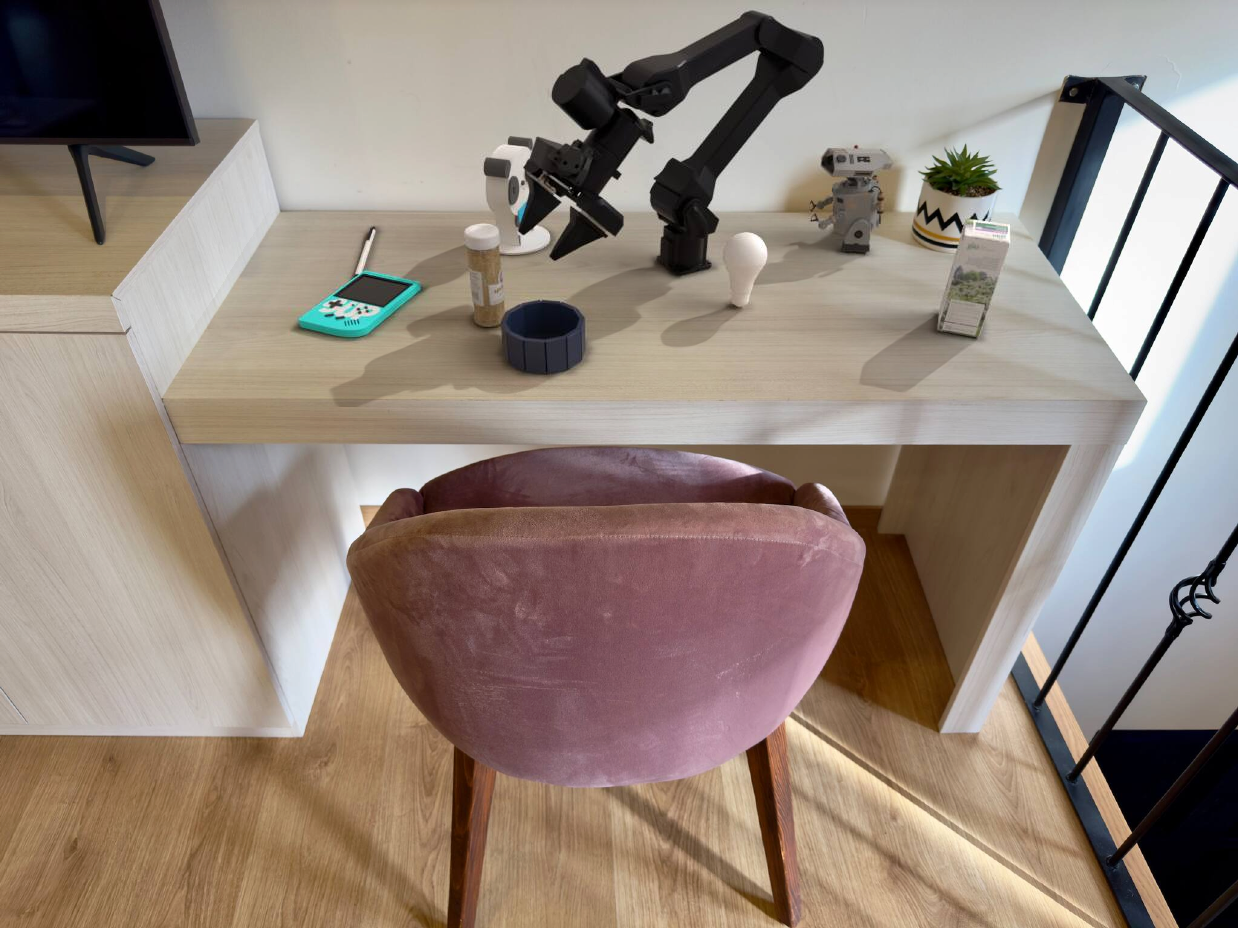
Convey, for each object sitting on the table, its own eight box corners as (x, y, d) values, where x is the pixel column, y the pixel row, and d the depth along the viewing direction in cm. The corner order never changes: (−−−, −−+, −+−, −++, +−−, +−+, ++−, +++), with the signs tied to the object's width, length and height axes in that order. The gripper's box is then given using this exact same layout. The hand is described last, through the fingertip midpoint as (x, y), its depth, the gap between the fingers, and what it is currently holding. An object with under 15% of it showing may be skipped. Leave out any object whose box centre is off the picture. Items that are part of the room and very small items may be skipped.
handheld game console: (297, 326, 118) (295, 318, 117) (364, 276, 129) (363, 268, 129) (359, 341, 115) (357, 332, 114) (422, 288, 127) (421, 280, 126)
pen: (377, 230, 142) (376, 223, 142) (359, 284, 128) (357, 277, 127) (371, 230, 142) (370, 223, 142) (353, 284, 128) (351, 277, 127)
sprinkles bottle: (508, 326, 118) (501, 235, 110) (475, 330, 118) (465, 238, 109) (504, 310, 122) (496, 220, 113) (472, 313, 121) (461, 223, 112)
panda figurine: (534, 260, 134) (528, 166, 124) (467, 251, 136) (457, 157, 127) (559, 229, 143) (556, 138, 133) (496, 220, 145) (488, 131, 135)
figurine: (802, 227, 144) (816, 137, 135) (871, 231, 143) (890, 140, 134) (805, 251, 137) (820, 158, 128) (878, 255, 136) (898, 162, 127)
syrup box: (980, 319, 121) (1011, 222, 112) (979, 340, 117) (1011, 240, 108) (938, 312, 123) (965, 215, 113) (936, 332, 118) (964, 234, 109)
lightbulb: (765, 301, 125) (775, 230, 118) (752, 320, 120) (762, 247, 113) (726, 292, 127) (733, 221, 120) (711, 311, 122) (718, 239, 115)
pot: (541, 323, 119) (540, 292, 116) (600, 348, 114) (600, 317, 111) (487, 355, 113) (484, 323, 110) (547, 383, 108) (546, 351, 105)
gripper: (531, 94, 115) (464, 191, 117) (603, 135, 103) (527, 242, 105) (583, 142, 123) (520, 232, 126) (655, 186, 111) (583, 284, 113)
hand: (535, 245), depth 117 cm, fingers open, 9 cm apart
